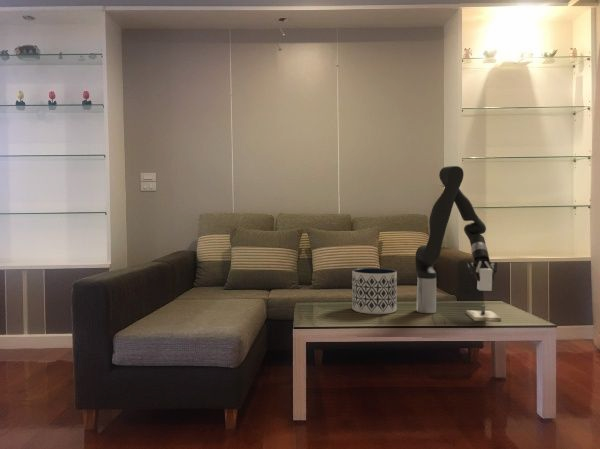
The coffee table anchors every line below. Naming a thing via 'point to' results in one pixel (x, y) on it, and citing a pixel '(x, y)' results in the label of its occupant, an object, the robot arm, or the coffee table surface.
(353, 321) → the coffee table surface
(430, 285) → the robot arm
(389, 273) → the planter
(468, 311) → the stub plate
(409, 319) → the coffee table surface
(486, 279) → the block
